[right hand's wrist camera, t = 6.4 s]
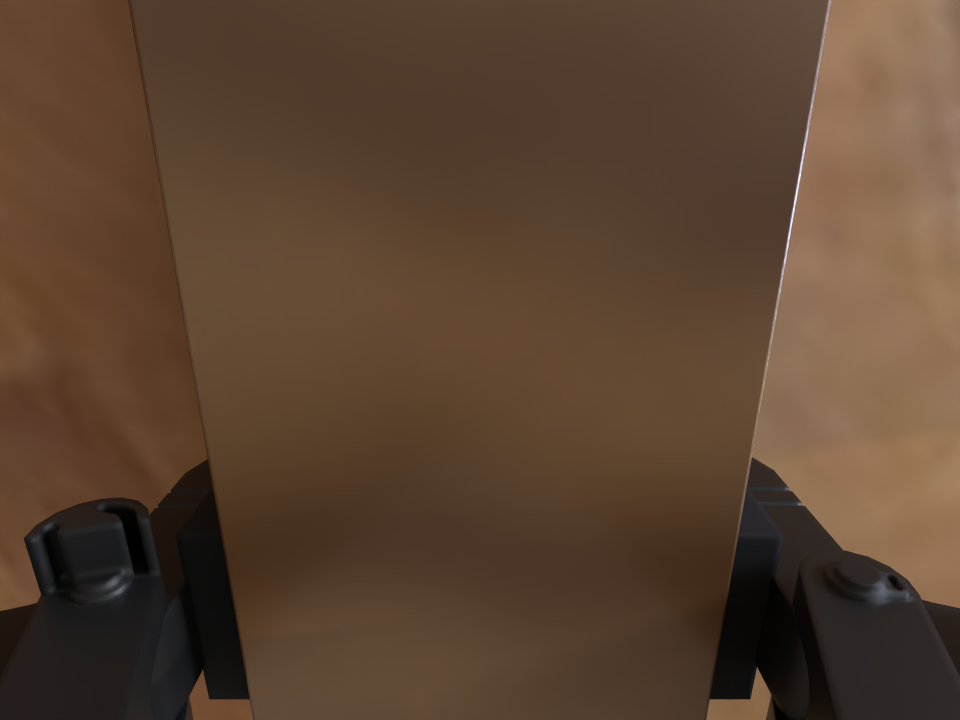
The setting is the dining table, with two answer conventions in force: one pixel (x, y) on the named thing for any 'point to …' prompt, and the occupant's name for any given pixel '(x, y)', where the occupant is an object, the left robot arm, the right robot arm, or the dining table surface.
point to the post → (479, 333)
